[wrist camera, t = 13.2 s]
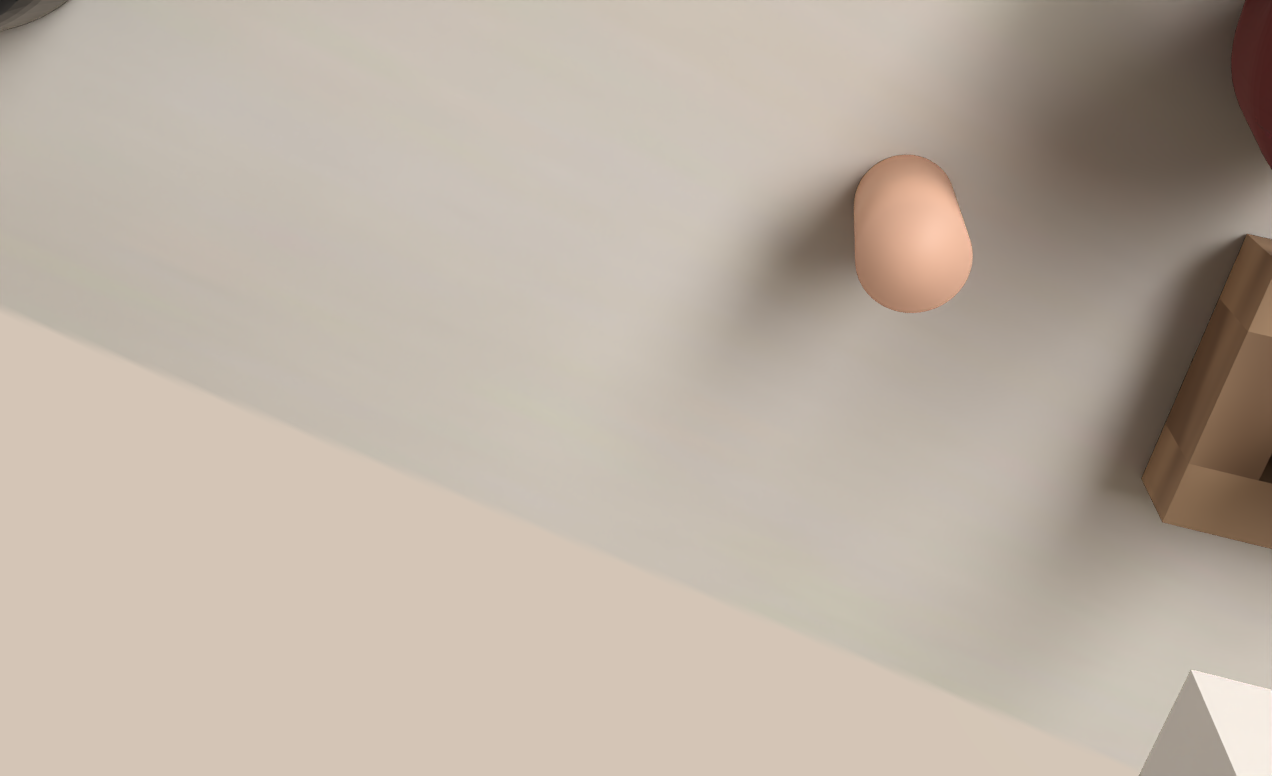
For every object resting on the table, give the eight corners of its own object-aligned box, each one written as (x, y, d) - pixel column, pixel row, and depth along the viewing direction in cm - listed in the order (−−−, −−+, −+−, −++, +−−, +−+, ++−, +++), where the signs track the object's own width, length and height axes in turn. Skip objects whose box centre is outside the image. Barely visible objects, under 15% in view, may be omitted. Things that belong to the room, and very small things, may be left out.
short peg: (842, 238, 39) (842, 298, 34) (868, 144, 38) (872, 191, 32) (937, 260, 39) (953, 324, 34) (967, 167, 38) (988, 217, 32)
